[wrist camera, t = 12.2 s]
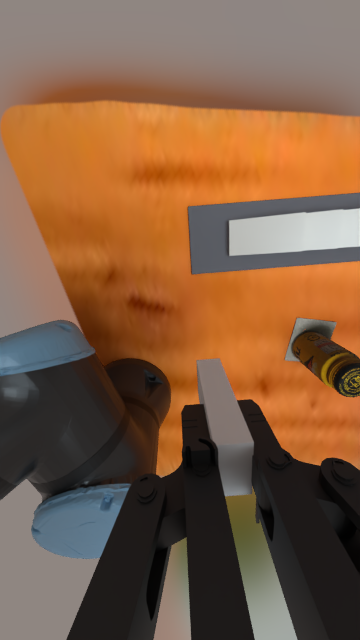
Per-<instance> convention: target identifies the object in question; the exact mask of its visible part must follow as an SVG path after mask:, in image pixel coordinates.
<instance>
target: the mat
mask: <svg viewBox="0 0 360 640" xmlns="http://www.w3.org/2000/svg"><path fill="white" fill-rule="evenodd" d="M359 208H360V193H353V194H340V195H328V196H315V197H303V198H290V199H277V200H265V201H252V202H240V203H227V204H215V205H202V206H190V207H188V216H189V233H190V251H191V268H192V274H201V273H214V272H226V271H239V270H251V269H264V268H276V267H289V266H301V265H314V264H326V263H339V262H351V261H360V247H344V248H337V249H322V250H306V251H299V252H284V253H268V254H252V255H236V256H229V220H239V219H248V218H257V217H266V216H275V215H284V214H293V213H302V212H306V213H312V212H321V211H331V210H340V209H343V210H349V209H359Z"/></svg>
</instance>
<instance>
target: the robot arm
mask: <svg viewBox="0 0 360 640" xmlns="http://www.w3.org/2000/svg"><path fill="white" fill-rule="evenodd" d="M95 352H96V351H95V348H94V347H92V346H90V344H89V343H88V341H87V340H86V338H85V337H84V335H83V334H82V332H81V331H80V329H79V328H78V327H77V326H76V325H75V324H74V323H72V322H70V321H65V320H57V321H53V322H49V323H45V324H42V325H38V326H35V327H32V328H29V329H26V330H23V331H20V332H17V333H14V334H11V335H8V336H5V337H2V338H0V500H1V499H3V498H4V497H5V496H6V495H7V494H8V493H9V492H10V491H12V490H13V489H14V488H15V487H16V486H18V485H19V484H20V483H21V482H23V481H24V480H25V479H28V480H29V481H30V482H31V484H32V485H33V486H34V487H35V488H36V489H37V491H38V492H39V493H40V494H41V495H42V498H43V499H42V503H41V504H39V505H38V507H37V509H36V510H35V512H34V519H33V525H32V529H31V531H32V535H33V538H34V539H35V541H36V542H37V543H38V544H39V545H40V546H41V547H43V548H44V549H46V550H48V551H50V552H52V553H54V554H58V555H61V556H65V557H71V558H82V559H93V558H100V560H99V562H98V565H97V567H96V570H95V572H94V574H93V577H92V579H91V582H90V584H89V586H88V589H87V592H86V594H85V596H84V598H83V601H82V603H81V606H80V608H79V611H78V613H77V615H76V618H75V620H74V623H73V625H72V628H71V630H70V632H69V635H68V637H67V640H153V638H154V633H155V628H156V623H157V618H158V612H159V607H160V602H161V597H162V592H163V586H164V581H165V576H166V571H167V566H168V561H169V555H170V551H171V545H173V544H175V543H177V542H178V541H180V540H182V539H184V538H186V537H187V556H188V578H189V599H190V620H191V640H255V639H254V634H253V629H252V625H251V620H250V615H249V610H248V605H247V601H246V596H245V591H244V586H243V581H242V576H241V572H240V568H239V562H238V557H237V552H236V548H235V543H234V538H233V533H232V528H231V524H230V519H229V514H228V510H227V505H226V499H225V496H234V495H245V494H252V486H253V489H254V492H255V495H256V523H259V518H260V521H261V524H262V527H263V531H264V534H265V537H266V540H267V543H268V546H269V550H270V553H271V556H272V559H273V563H274V565H275V569H276V572H277V575H278V578H279V582H280V585H281V588H282V591H283V594H284V598H285V601H286V604H287V607H288V610H289V613H290V617H291V620H292V623H293V626H294V629H295V633H296V636H297V639H298V640H360V470H359V469H357V468H356V467H355V466H353V465H352V464H350V463H348V462H346V461H344V460H342V459H338V458H326V459H325V460H323V461H322V463H321V466H318V465H313V464H309V463H304V462H301V461H298V460H296V459H294V458H293V457H292V456H291V455H290V453H288V452H287V451H285V450H284V449H282V448H281V446H280V444H279V443H278V441H277V439H276V437H275V435H274V433H273V431H272V429H271V428H270V426H269V424H268V422H267V421H266V418H265V416H264V415H263V413H262V411H261V409H260V407H259V405H257V404H256V403H255V402H254V401H253V400H251V399H249V400H236V398H235V395H234V393H233V390H232V388H231V385H230V383H229V381H228V378H227V376H226V373H225V371H224V368H223V366H222V363H221V361H220V359H206V360H197V376H198V393H199V401H200V404H196V405H185V406H184V408H183V410H182V412H181V414H182V436H183V448H182V459H183V460H182V463H181V465H180V466H179V468H178V469H177V470H176V471H175V472H173V473H171V474H169V475H167V476H165V477H162V478H160V477H159V476H158V475H156V465H157V452H158V438H159V428H160V426H161V424H162V423H163V421H164V419H165V417H166V415H167V413H168V411H169V408H170V403H171V388H170V384H169V382H168V380H167V378H166V376H165V375H164V374H163V372H162V371H161V370H159V369H158V368H157V367H156V366H154V365H152V364H151V363H148V362H146V361H143V360H138V359H122V360H118V361H115V362H112V363H110V364H108V365H107V366H105V367H103V365H102V364H101V362H100V360H99V359H98V357H97V355H96V354H95Z"/></svg>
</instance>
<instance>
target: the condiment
mask: <svg viewBox="0 0 360 640" xmlns="http://www.w3.org/2000/svg"><path fill="white" fill-rule="evenodd" d="M336 323H337V322H331V321H322V320H314V319H303V318H297V320H296V324H295V327H294V330H293V334H292V337H291V340H290V343H289V346H288V350H287V354H286V357H285V360H288V361H300V362H301V363H302V364H303V365H305V366H306V367H307V368H308V369H309V370H310V371H311V372H312V373H314V374H315V375H316V376H317V377H318V378H319V379H320V380H321V381H322V382H323V383H324V384H326V385H327V386H329V387H332V388H334V389H335V390H336V391H337V392H338V393H340V394H342V395H343V396H346V397H356V396H360V359H359V358H358V357H357V356H356V355H355V354H353V353H352V352H350V351H348V350H347V349H345V348H343V347H341V346H340V345H338V344H336V343H335V342H333V341H331V336H332V333H333V330H334V328H335V325H336ZM304 329H306V330H304ZM303 330H304V331H303Z"/></svg>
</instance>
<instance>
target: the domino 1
mask: <svg viewBox="0 0 360 640" xmlns="http://www.w3.org/2000/svg"><path fill="white" fill-rule="evenodd" d="M305 216H306V212H302V213H293V214H284V215H275V216H266V217H257V218H248V219H239V220H229V256H236V255H252V254H268V253H284V252H299V251H302V249H303V238H304V227H305Z"/></svg>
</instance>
